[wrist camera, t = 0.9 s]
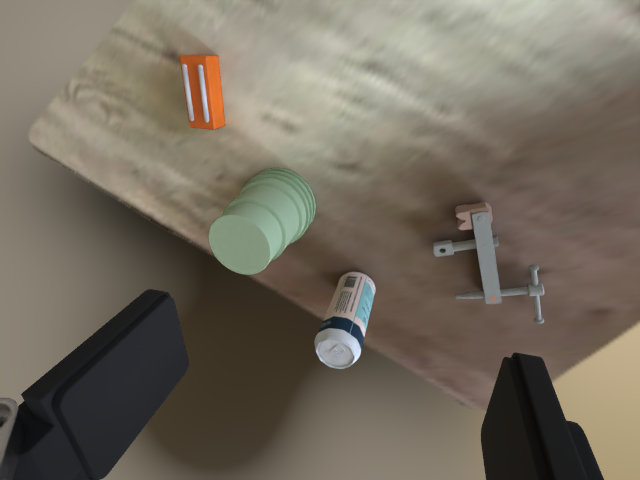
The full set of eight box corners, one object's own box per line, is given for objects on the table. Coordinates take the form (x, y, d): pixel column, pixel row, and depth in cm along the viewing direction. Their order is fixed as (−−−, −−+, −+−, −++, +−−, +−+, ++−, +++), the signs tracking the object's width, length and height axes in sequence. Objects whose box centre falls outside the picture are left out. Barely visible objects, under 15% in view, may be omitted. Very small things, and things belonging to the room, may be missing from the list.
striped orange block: (192, 54, 37) (175, 55, 35) (218, 55, 37) (202, 56, 34) (201, 123, 41) (186, 128, 38) (225, 125, 40) (211, 130, 38)
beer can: (331, 286, 46) (303, 353, 36) (352, 262, 44) (328, 327, 34) (361, 306, 47) (341, 379, 36) (383, 284, 44) (368, 355, 34)
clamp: (426, 219, 36) (537, 199, 33) (426, 211, 38) (532, 191, 34) (451, 333, 42) (548, 327, 38) (450, 321, 44) (543, 314, 40)
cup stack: (246, 164, 41) (191, 197, 32) (316, 172, 40) (280, 210, 30) (251, 229, 46) (204, 275, 36) (315, 239, 44) (283, 291, 34)
